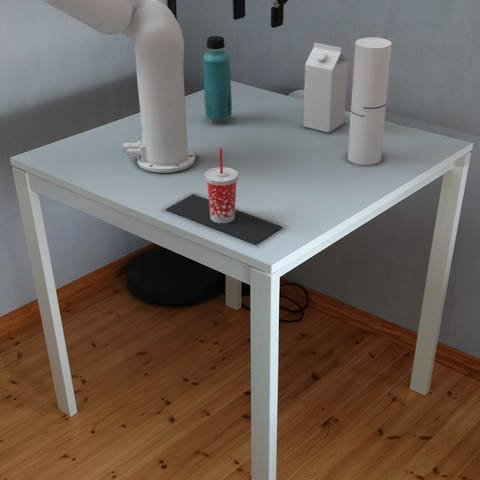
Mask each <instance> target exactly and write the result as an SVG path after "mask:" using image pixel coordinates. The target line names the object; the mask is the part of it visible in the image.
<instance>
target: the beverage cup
mask: <svg viewBox="0 0 480 480" xmlns="http://www.w3.org/2000/svg"><path fill="white" fill-rule="evenodd" d="M218 150H219V166H218V167H213V168H210V169H208V170H207V171H205V173H204V180H205V181H206V189H207V196H208V198H207V199H208V200H209V207H210V216H211V220H212V221H214V222H216V223H228V222H231V221H233V220H234V219H235V209H236V201H237V200H236V199H237V181H238V180H239V172H238V171H237V170H236V169H234V168H232V167H226V166H223V148H222V147H219V149H218Z"/></svg>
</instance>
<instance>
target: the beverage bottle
mask: <svg viewBox="0 0 480 480" xmlns="http://www.w3.org/2000/svg"><path fill="white" fill-rule="evenodd" d="M225 43H226V42H225V37H223V36H220V35H211V36H209V37H207V39H206V49H209V51H207V52H206V53H205V54H204V55H203V56H202V61H203V89H204V90H203V91H204V96H203V99H204V100H203V101H204V110H205V113H204V114H205V116H206V117H207V118H208V119H210V120H215V121H216V120H217V121H219V120H220V121H221V120H226V119H229V118H230V117H232V110H233V101H232V100H233V98H232V83H231V81H232V80H231V61H230V60H231V57H230V55H229V54H228V53H227V52H226V51H224V50H222V49H224V48H225V47H226V44H225Z"/></svg>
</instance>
